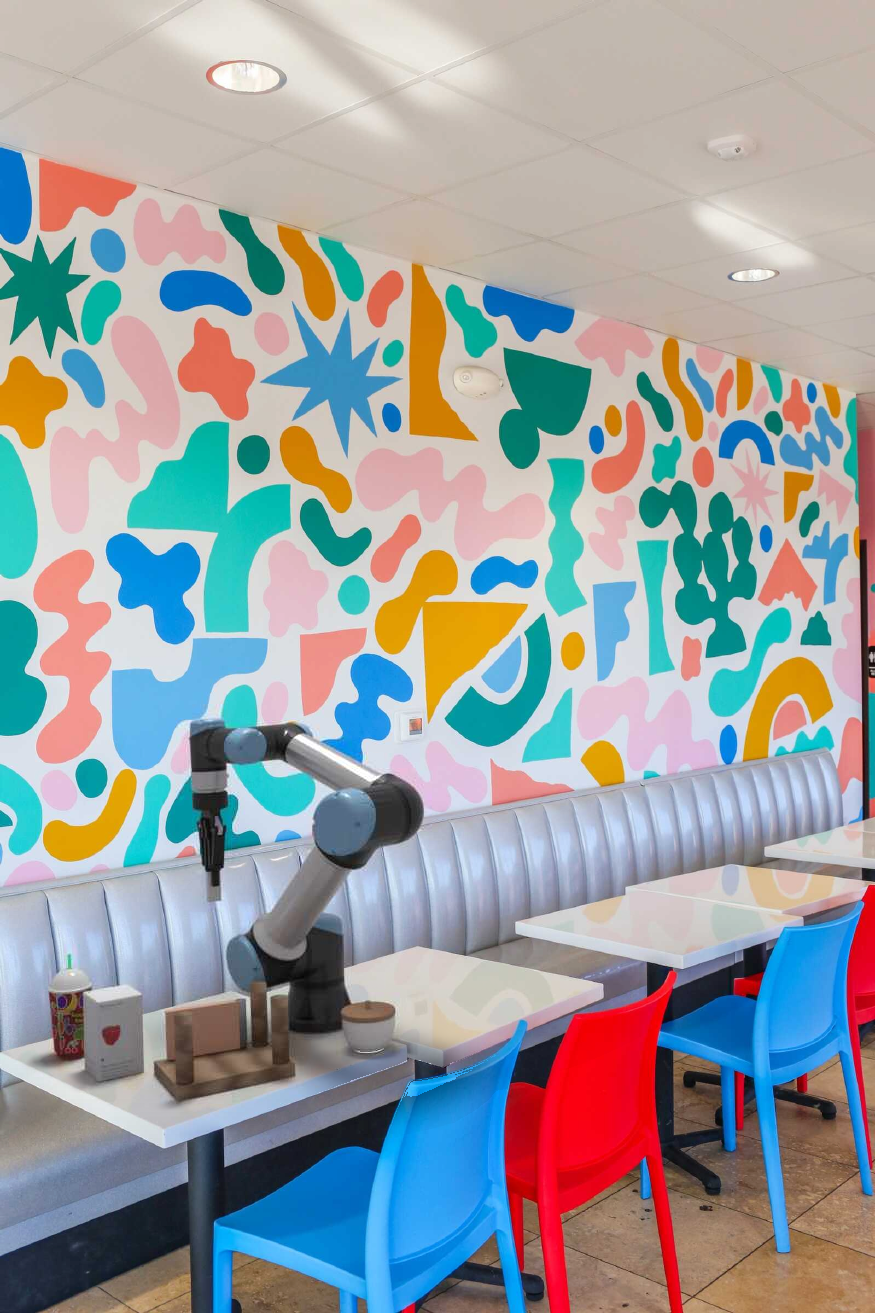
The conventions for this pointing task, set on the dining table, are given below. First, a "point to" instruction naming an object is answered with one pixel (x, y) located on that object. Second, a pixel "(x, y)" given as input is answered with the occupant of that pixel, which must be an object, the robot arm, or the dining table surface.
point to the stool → (231, 1053)
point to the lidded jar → (368, 1025)
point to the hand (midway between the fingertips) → (214, 900)
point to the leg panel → (211, 1027)
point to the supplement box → (113, 1032)
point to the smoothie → (68, 1011)
